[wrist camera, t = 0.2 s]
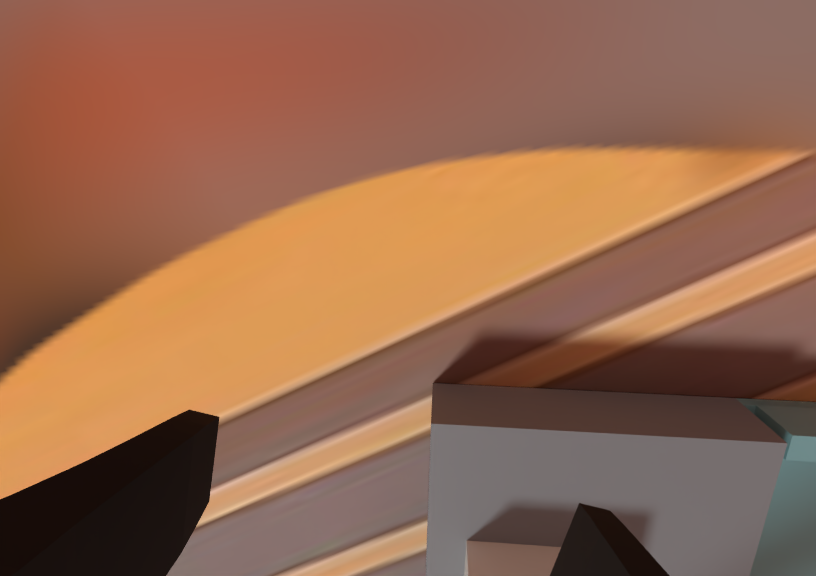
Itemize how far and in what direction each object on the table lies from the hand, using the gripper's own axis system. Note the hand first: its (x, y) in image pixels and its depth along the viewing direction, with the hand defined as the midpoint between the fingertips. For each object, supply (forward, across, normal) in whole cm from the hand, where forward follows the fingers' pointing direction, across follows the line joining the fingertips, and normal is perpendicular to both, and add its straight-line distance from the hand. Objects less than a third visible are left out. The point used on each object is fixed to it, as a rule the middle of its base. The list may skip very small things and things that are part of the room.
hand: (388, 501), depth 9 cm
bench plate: (+10, -9, +10) cm, 17 cm away
